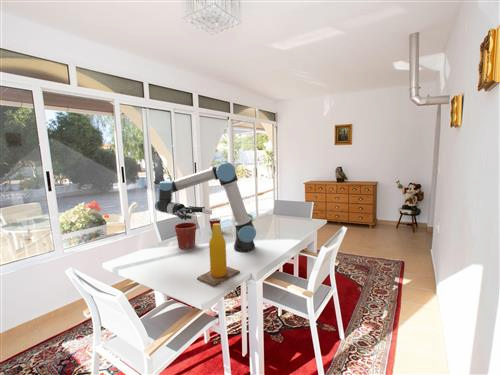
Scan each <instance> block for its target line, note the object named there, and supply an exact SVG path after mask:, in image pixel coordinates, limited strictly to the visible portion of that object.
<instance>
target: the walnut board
mask: <svg viewBox="0 0 500 375" xmlns="http://www.w3.org/2000/svg"><path fill="white" fill-rule="evenodd" d="M240 273H241V270H239V269H237V268H233V267H230V266H227V274H226V275H225V276H223V277H219V278H216V277H213V276H211V273H210V270H209V271H207V272H205V273H203V274H201V275H199V276H196V279H197V281H200V282H201V283H204V284H206V283H207V284H206V285H209V286H211V287H213V286H214V287H213V288H216V287H218V286H219V285H221V284H222V282H223V283H225V282H226V281H228V280H230V279H231V278H232V279H233V277H235V276H237V275H239V274H240ZM224 281H225V282H224ZM217 285H218V286H217ZM215 286H216V287H215Z"/></svg>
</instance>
